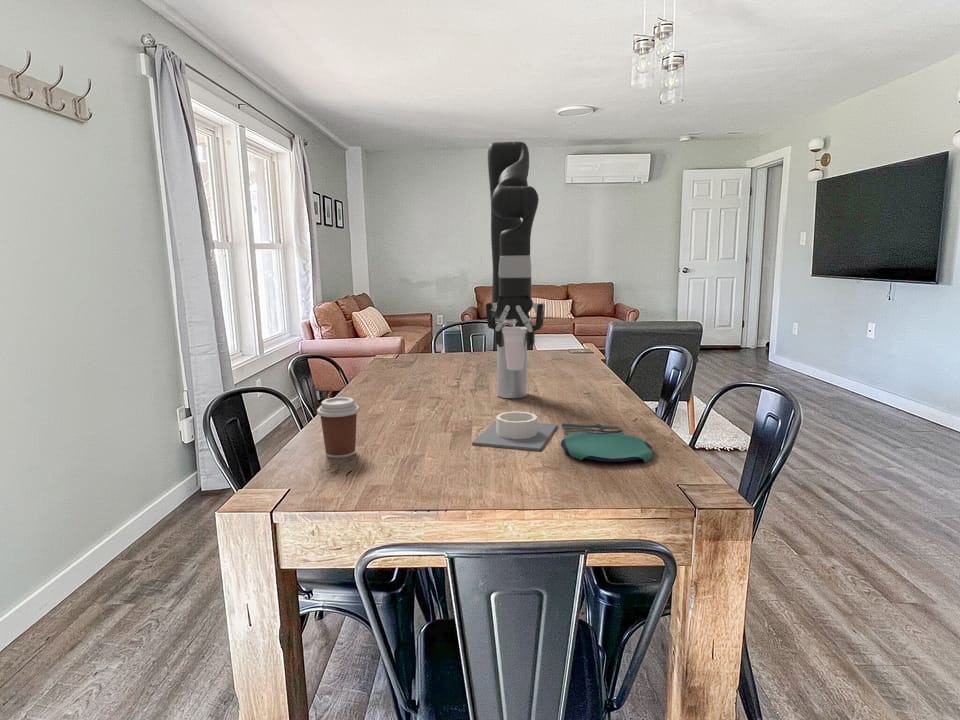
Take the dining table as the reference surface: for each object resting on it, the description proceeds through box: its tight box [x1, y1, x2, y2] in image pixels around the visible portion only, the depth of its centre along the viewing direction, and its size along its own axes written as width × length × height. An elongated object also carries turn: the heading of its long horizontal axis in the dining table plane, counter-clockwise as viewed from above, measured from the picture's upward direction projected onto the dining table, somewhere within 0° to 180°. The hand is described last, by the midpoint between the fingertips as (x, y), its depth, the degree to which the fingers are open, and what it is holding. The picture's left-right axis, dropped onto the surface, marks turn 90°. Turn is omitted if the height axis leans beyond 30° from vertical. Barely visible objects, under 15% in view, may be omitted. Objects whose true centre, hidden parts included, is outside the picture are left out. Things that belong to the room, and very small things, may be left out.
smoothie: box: [502, 319, 528, 370], centre depth 137 cm, size 6×6×14 cm
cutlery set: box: [560, 422, 654, 464], centre depth 133 cm, size 20×30×2 cm, turn 177°
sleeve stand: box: [471, 411, 558, 452], centre depth 140 cm, size 20×16×5 cm
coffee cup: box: [316, 396, 360, 459], centre depth 128 cm, size 9×9×12 cm
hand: (515, 347), depth 137 cm, fingers closed on smoothie, 6 cm apart
